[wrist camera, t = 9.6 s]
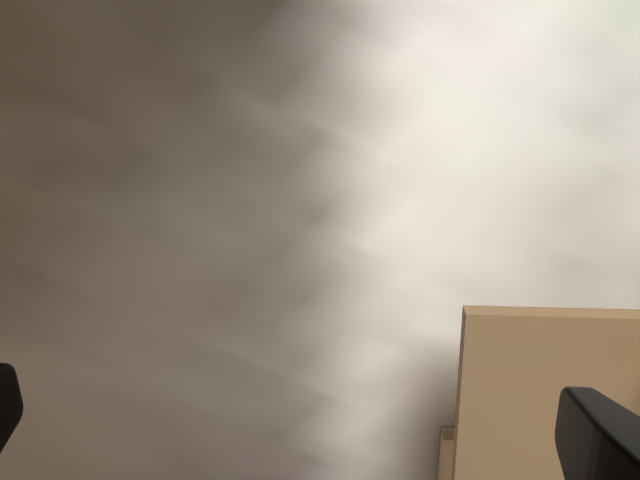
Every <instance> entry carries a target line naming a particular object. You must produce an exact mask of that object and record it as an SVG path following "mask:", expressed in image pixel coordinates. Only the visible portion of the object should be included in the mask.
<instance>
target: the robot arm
mask: <svg viewBox="0 0 640 480" xmlns="http://www.w3.org/2000/svg"><path fill="white" fill-rule="evenodd" d="M22 414H23V401H22V396H21V392H20V388H19V383H18V379H17V375H16V371H15V369H14V368H13V366H12V365H10V364H7V363H0V453H1V451H2V450H3V448H4V446H5V445H6V443H7V441H8V440H9V438H10V436H11V435H12V433H13V431H14V430H15V428H16V426H17V425H18V423H19V421H20V419H21V417H22ZM555 445H556V450H557V453H558V457H559V460H560V464H561V468H562V471H563V475H564V479H565V480H640V416H638V415H637V414H635V413H633V412H632V411H630V410H628V409H627V408H625V407H624V406H622V405H620V404H619V403H617V402H615V401H614V400H612V399H610V398H609V397H607V396H605V395H604V394H602V393H600V392H599V391H597V390H595V389H594V388H591V387H578V386H566V387H564V388H563V389H562V391H561V393H560V397H559V404H558V411H557V418H556V425H555Z"/></svg>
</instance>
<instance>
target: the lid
mask: <svg viewBox="0 0 640 480" xmlns="http://www.w3.org/2000/svg"><path fill="white" fill-rule="evenodd" d="M566 386H578V387H591V388H594V389H595V390H597V391H599V392H600V393H602V394H604V395H605V396H607V397H609V398H610V399H612V400H614V401H615V402H617V403H619V404H620V405H622V406H624V407H625V408H627V409H628V410H630V411H632V412H633V413H635V414H637V415H638V416H640V310H627V309H586V308H546V307H505V306H465V305H463V313H462V328H461V342H460V357H459V371H458V386H457V400H456V415H455V430H454V444H453V459H452V473H451V480H565V479H564V475H563V471H562V468H561V464H560V460H559V457H558V453H557V450H556V445H555V425H556V418H557V411H558V404H559V397H560V393H561V391H562V389H563V388H564V387H566Z"/></svg>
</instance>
